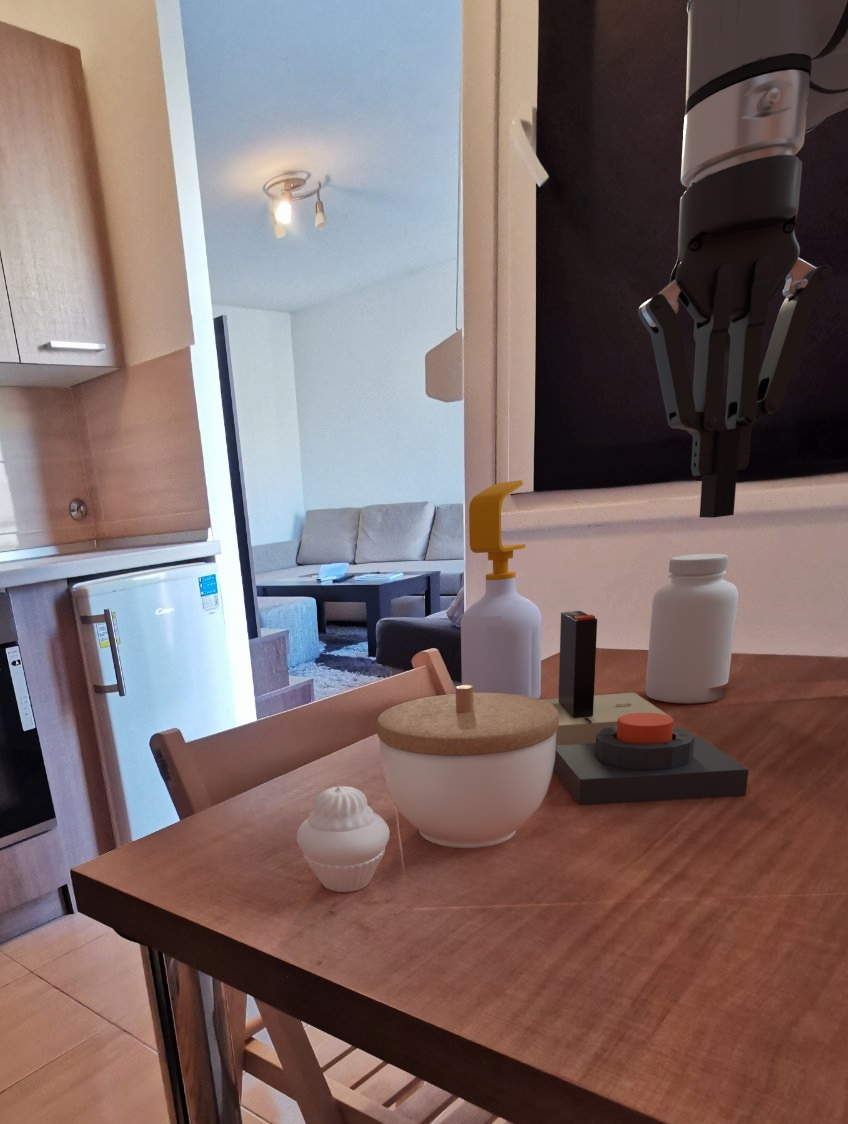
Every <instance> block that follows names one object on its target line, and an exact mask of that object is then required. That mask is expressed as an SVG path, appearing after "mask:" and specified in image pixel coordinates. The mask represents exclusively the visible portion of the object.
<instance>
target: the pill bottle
mask: <svg viewBox="0 0 848 1124" xmlns="http://www.w3.org/2000/svg"><path fill="white" fill-rule="evenodd" d="M728 562H729V555H728V554H726V553H696V554H686V555H685V554H684V555H678V556H673V557H671V558H670V559H669V564H668V573H670V574H668V578H669V579H670V582H667V583H665V584H663V585H660V586H659V587H658V588H657V590H655V592H654V595H653V598H652V603H651V614H650V615H651V617H650V625H649V626H650V627H649V640H648V650H647V651H648V652H647V666H646V675H645V676H646V677H645V695H646V697H648V698H650V699H651V700H655V701H658V702H663V703H668V704H669V703H670V704H685V705H687V704H705V703H711V702H716V701H719V700H722V699H723V698H724V697H725V696H726V694H727V691H728V688H727V687H724V688H718V687H721V686H724V685H727V684H728V683H729V679H730V670H731V661H732V654H733V646H734V637H735V629H736V620H737V612H738V605H739V604H738V603H739V590H738V588H737V586H736V585H735V584H734V583H732V582H730V581H728V580H725V579H724V576H726V575H727V571H726V570H728V565H729V563H728Z"/></svg>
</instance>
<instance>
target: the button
mask: <svg viewBox="0 0 848 1124" xmlns="http://www.w3.org/2000/svg"><path fill="white" fill-rule="evenodd" d="M667 715H668V714H667ZM667 715H663V714H657V713H633V714H627V715H623V716H621V717H619V718H618V720H617V738H616V739H617V740H620V741H623V742H627V743H638V744H653V743H664V742H668V741H672V734H673V727H674V723H675V721H674V718H673V717H672V716H670V715H669V716H667Z"/></svg>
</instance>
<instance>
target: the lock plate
mask: <svg viewBox="0 0 848 1124" xmlns="http://www.w3.org/2000/svg"><path fill="white" fill-rule="evenodd" d="M542 700H543V701H546V702H548V703H550V704H552V705H553V706H554V707H555V708H556V709H557V710H558V713H559V726H558V730H557V732H556V746H559V745H574V744H589V743H596V735H597V734H598V733H599V732H600V731H601V730H602V729H605V728H609V727H613V726H617V720H618V718H619V717H621V716H623V715H627V714H633V713H657V714H663V715H667V716H670V715H669V714H668V713H665V712H664V711H663V710H662V709H660V708H658V707H657V706H655V705H654V704H652V703H651V702H649V701H648V700H647V699H645V698H644V697H643V696H640V695H639V694H637V693H636V692H621V693H610V694H609V693H608V694H597V695H595V694H594V707H593V716H588V717H572V716H571V715H570V714H569V713H568V712H567V711H566V710H565V708H564V707H563V706H562V705H561V704H560V703H559V697H557V698H544V699H542Z"/></svg>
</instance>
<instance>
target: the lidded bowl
mask: <svg viewBox="0 0 848 1124" xmlns="http://www.w3.org/2000/svg"><path fill="white" fill-rule="evenodd" d="M558 726H559V713H558V710H557V709H556V708H555V707H554V706H553V705H552V704H550V703H548V702H546V701H543V699H540V698H538V699H536V698H532V697H528V696H522V695H515V694H504V693H473V686H472V685H462V684H461V685H457V686H455V693H450V694H449V693H448V694H439V695H433V696H426V697H422V698H421V697H420V698H417V699H413V700H408V701H405V702H402V703H398V704H396V705H394V706H391V707H389V708H387V709H386V710H384V711H382V712H381V713H380V714H379V715H378V717H377V719H376V732H377V733H376V734H377V738H378V739H379V750H380V764H381V770H382V773H383V775H382V776H383V779H384V783H385V785H386V789H387V792H388V795H389V797H390V799H391V801H392V803H393V805H394V807H395V808H396V809H397V811H398V812H399V814H400V815H401V816H402V817H403V818H404V819H405V820H406V821H407V822H408V823H409V824H410V825H411V826H413V827H414V828H416V829H417V831H418V833H419V835H420V836H421V838H423V839H425V840H426V841H428V842H430V843H432V844H435V845H438V846H443V847H448V848H456V849H478V848H486V847H492V846H496V845H499V844H502V843H505V842H507V841H509V840H511V839H512V838H513V837H515V835H516V832H517V829H519V828H520V827H521V826H523V825H525V824H526V823H527V822H528V821H529V820H530V819H531V818H532V817H533V816H534V815H535V813H536V812H537V811H538V809H540V807H541V805H542V804H543V802H544V799H545V797H546V795H547V793H548V791H549V787H550V784H551V780H552V777H553V773H554V771H553V768H554V762H555V753H556V732H557V730H558Z"/></svg>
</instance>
